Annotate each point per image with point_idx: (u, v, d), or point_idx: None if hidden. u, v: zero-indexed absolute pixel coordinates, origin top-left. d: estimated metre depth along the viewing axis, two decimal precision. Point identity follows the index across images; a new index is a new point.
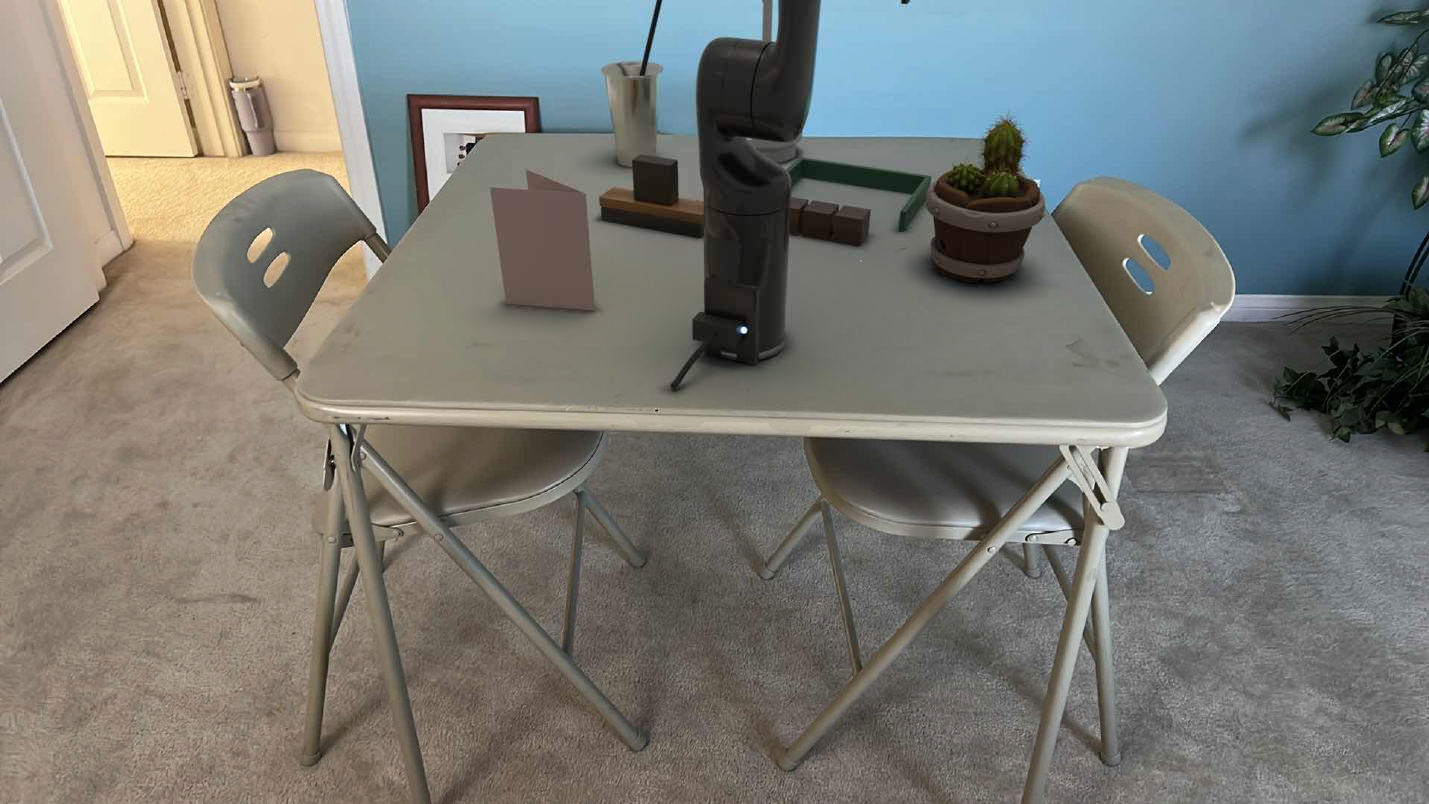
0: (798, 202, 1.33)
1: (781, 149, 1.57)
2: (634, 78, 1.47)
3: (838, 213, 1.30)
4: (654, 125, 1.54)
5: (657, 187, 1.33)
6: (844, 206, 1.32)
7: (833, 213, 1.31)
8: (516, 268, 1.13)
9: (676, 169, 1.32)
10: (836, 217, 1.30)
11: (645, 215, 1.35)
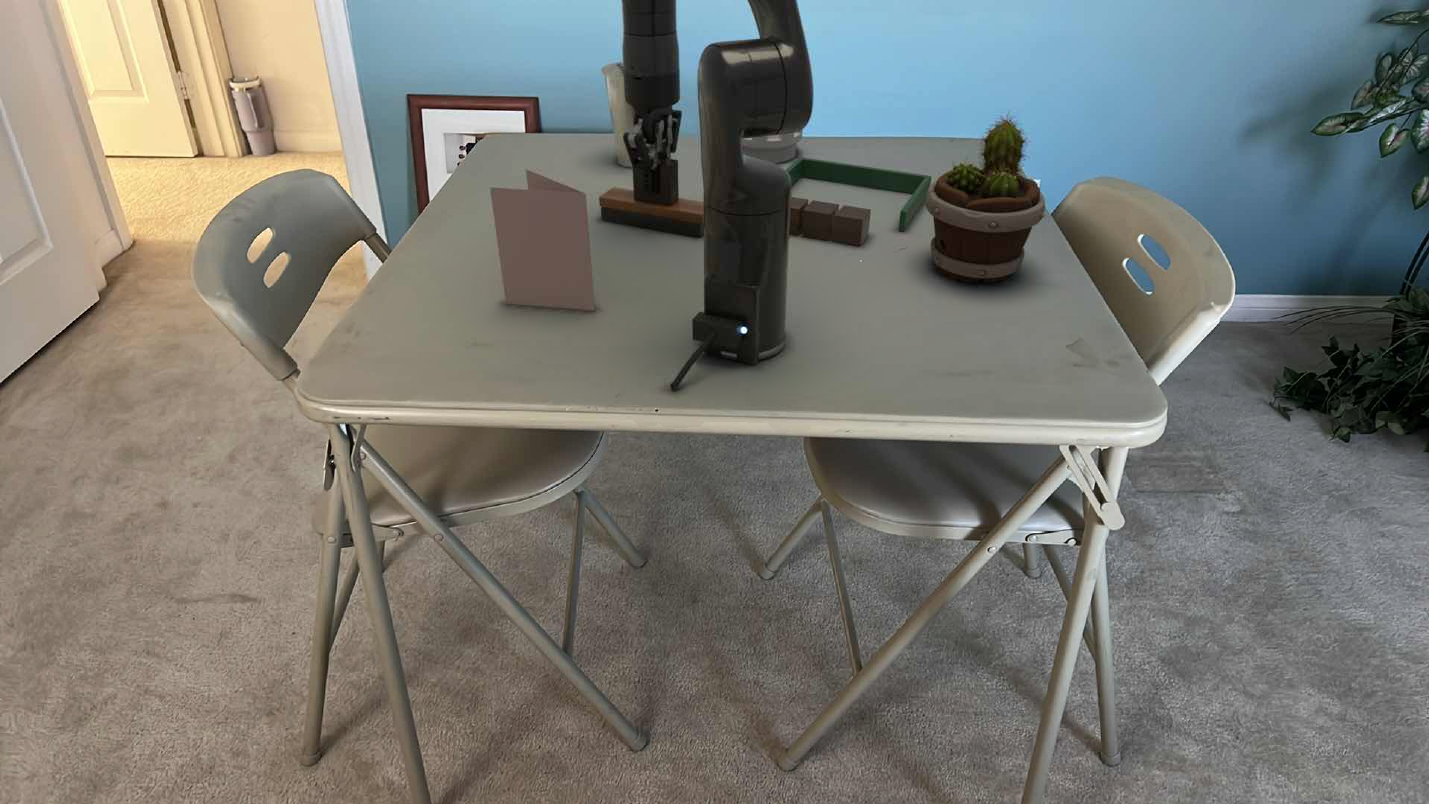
0: (798, 202, 1.33)
1: (781, 149, 1.57)
2: None
3: (838, 213, 1.30)
4: None
5: None
6: (844, 206, 1.32)
7: (833, 213, 1.31)
8: (516, 268, 1.13)
9: (676, 169, 1.32)
10: (836, 217, 1.30)
11: (645, 215, 1.35)
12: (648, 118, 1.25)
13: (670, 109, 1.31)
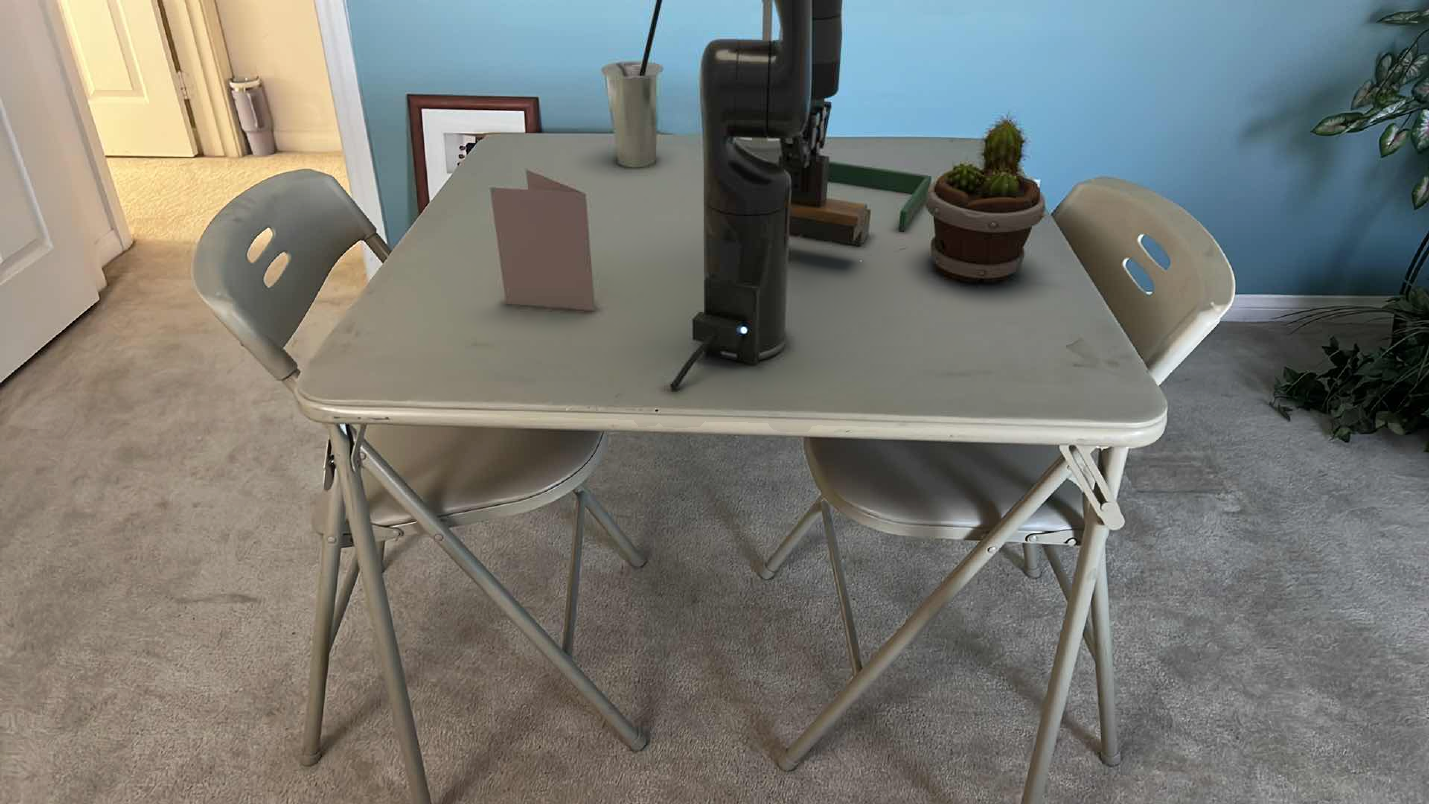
0: None
1: None
2: (634, 78, 1.47)
3: None
4: (654, 125, 1.54)
5: None
6: None
7: None
8: (516, 268, 1.13)
9: (827, 166, 1.20)
10: None
11: (790, 217, 1.23)
12: None
13: (823, 100, 1.19)
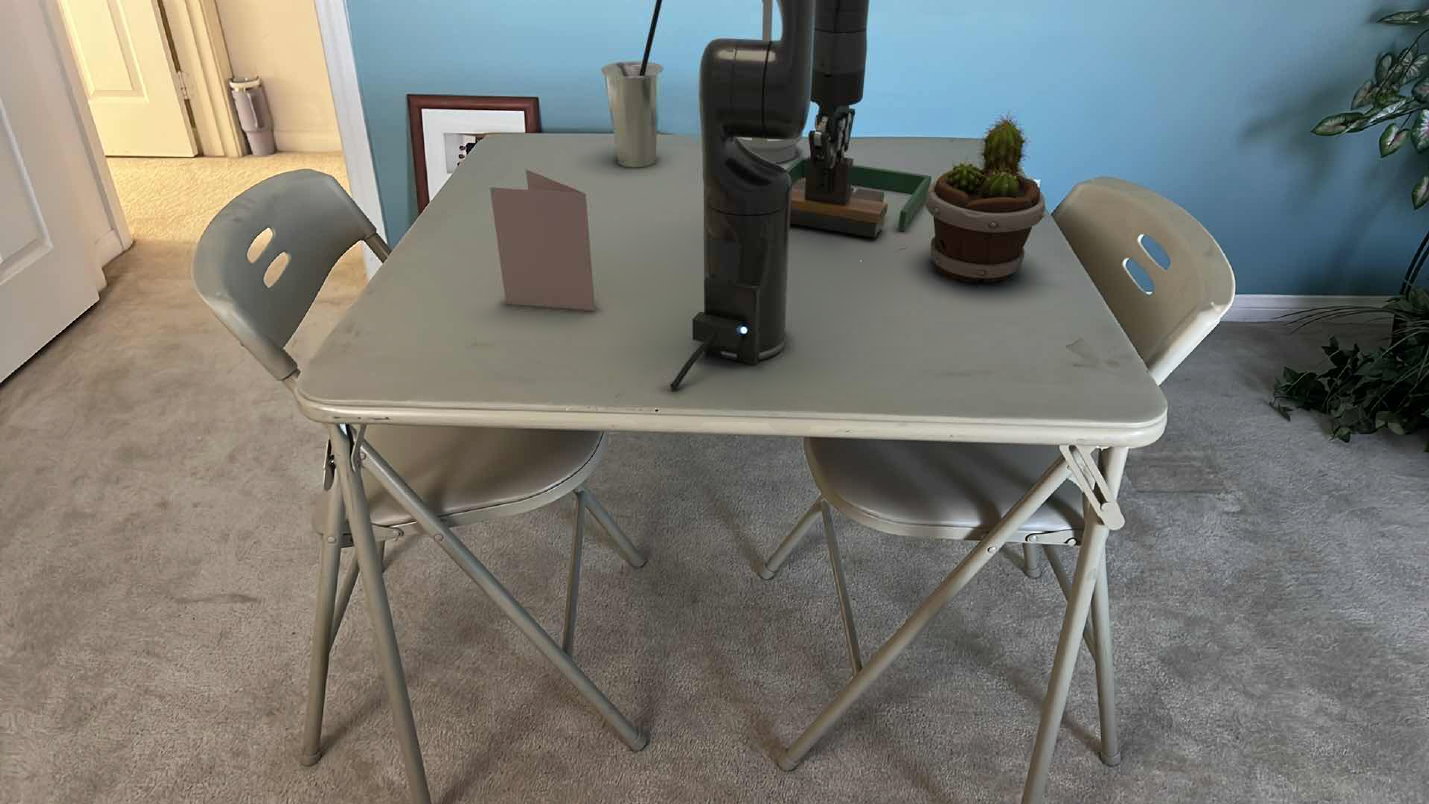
0: None
1: (781, 149, 1.57)
2: (634, 78, 1.47)
3: (853, 196, 1.35)
4: (654, 125, 1.54)
5: None
6: (858, 189, 1.37)
7: None
8: (516, 268, 1.13)
9: (851, 168, 1.31)
10: None
11: (817, 214, 1.33)
12: (833, 116, 1.24)
13: (848, 107, 1.29)
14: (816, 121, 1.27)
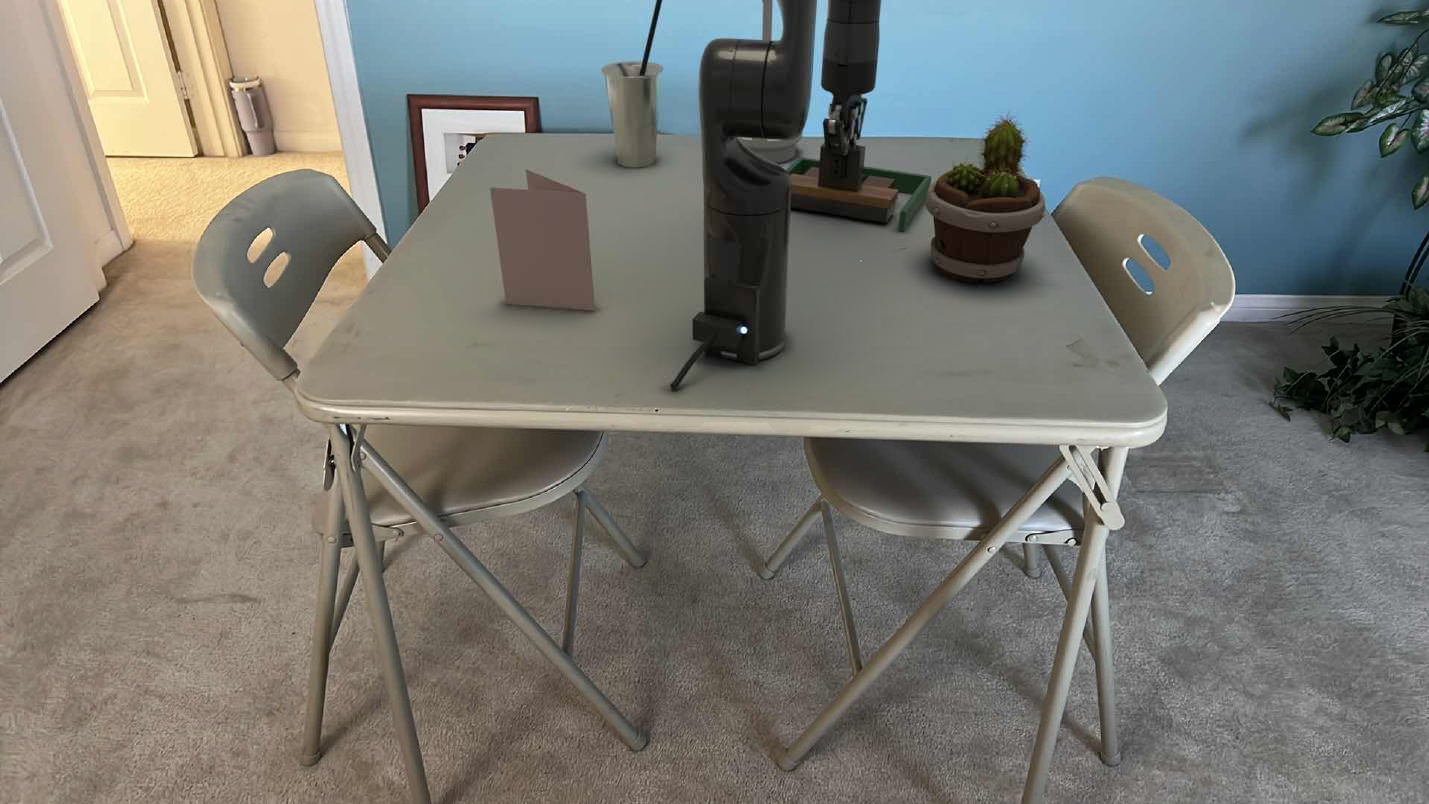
0: None
1: (781, 149, 1.57)
2: (634, 78, 1.47)
3: (865, 182, 1.40)
4: (654, 125, 1.54)
5: None
6: (870, 176, 1.42)
7: None
8: (516, 268, 1.13)
9: (864, 155, 1.35)
10: None
11: (830, 200, 1.38)
12: (846, 104, 1.28)
13: (860, 96, 1.34)
14: (830, 110, 1.31)
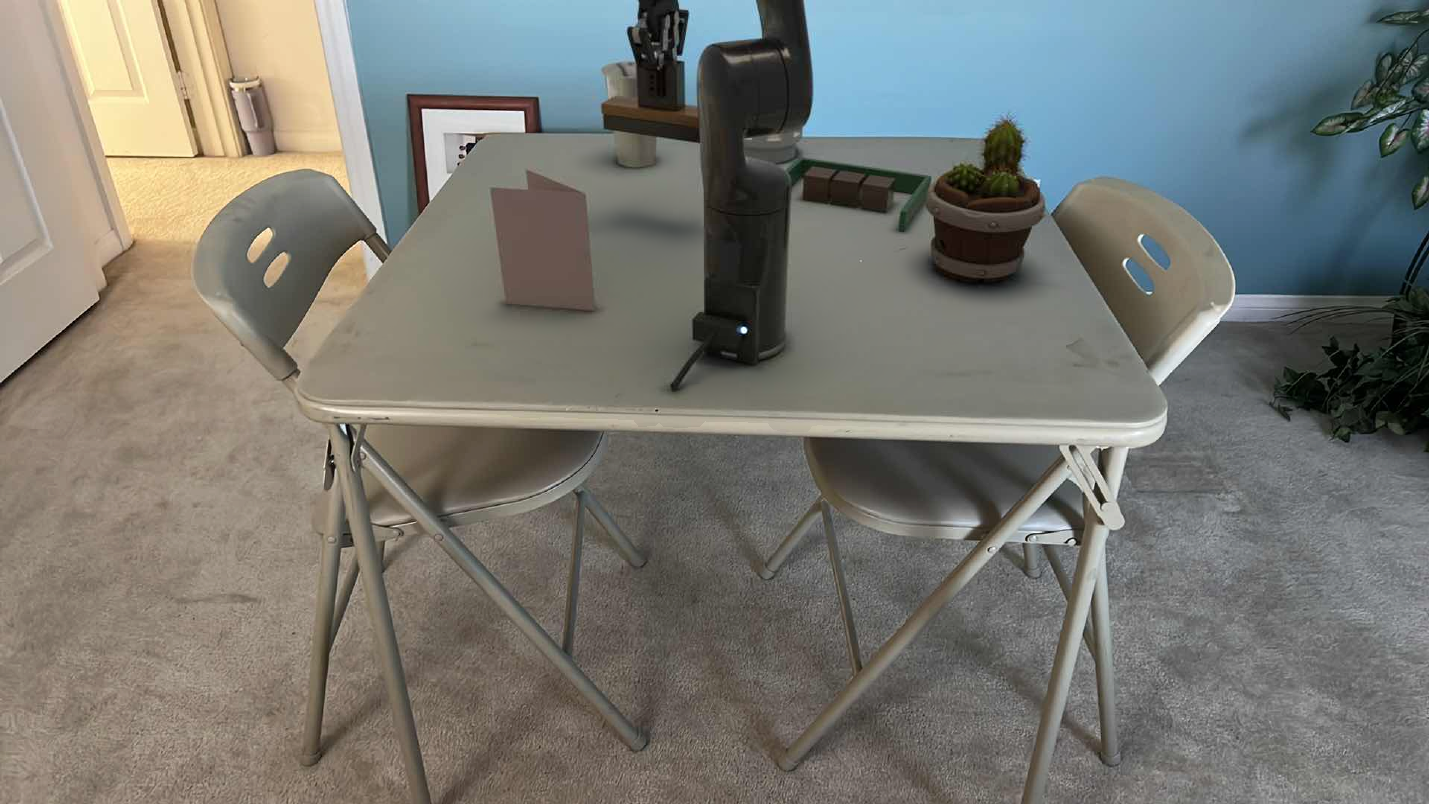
0: (827, 172, 1.43)
1: (781, 149, 1.57)
2: (634, 78, 1.47)
3: (865, 182, 1.40)
4: None
5: None
6: (871, 176, 1.42)
7: (860, 182, 1.41)
8: (516, 268, 1.13)
9: (683, 71, 1.25)
10: (864, 185, 1.40)
11: (650, 121, 1.27)
12: (653, 11, 1.18)
13: (677, 6, 1.23)
14: None
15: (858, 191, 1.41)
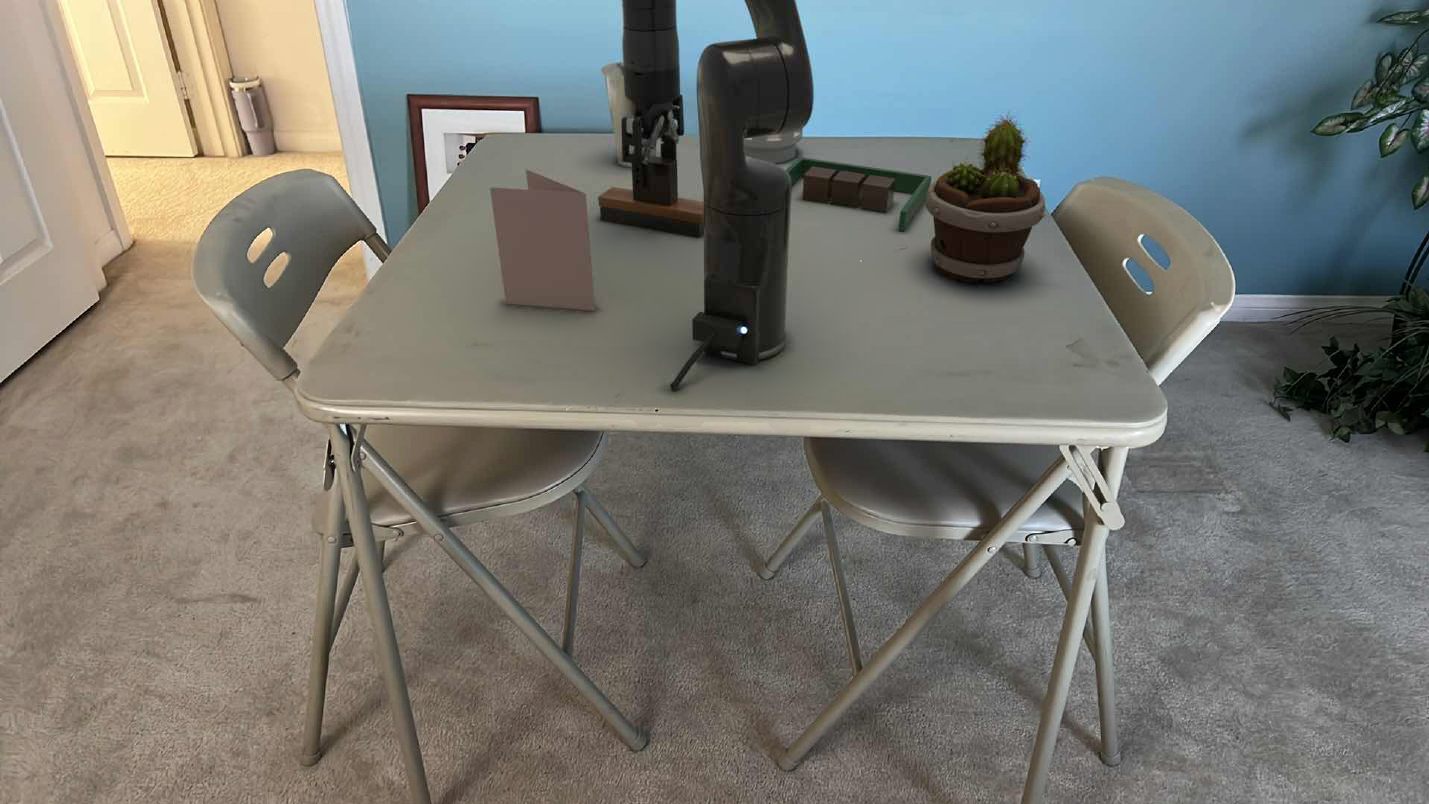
0: (827, 172, 1.43)
1: (781, 149, 1.57)
2: None
3: (865, 182, 1.40)
4: None
5: (657, 186, 1.33)
6: (870, 176, 1.42)
7: (860, 182, 1.41)
8: (516, 268, 1.13)
9: (675, 168, 1.32)
10: (864, 185, 1.40)
11: (644, 214, 1.35)
12: (649, 112, 1.25)
13: (670, 105, 1.30)
14: None
15: (858, 191, 1.41)
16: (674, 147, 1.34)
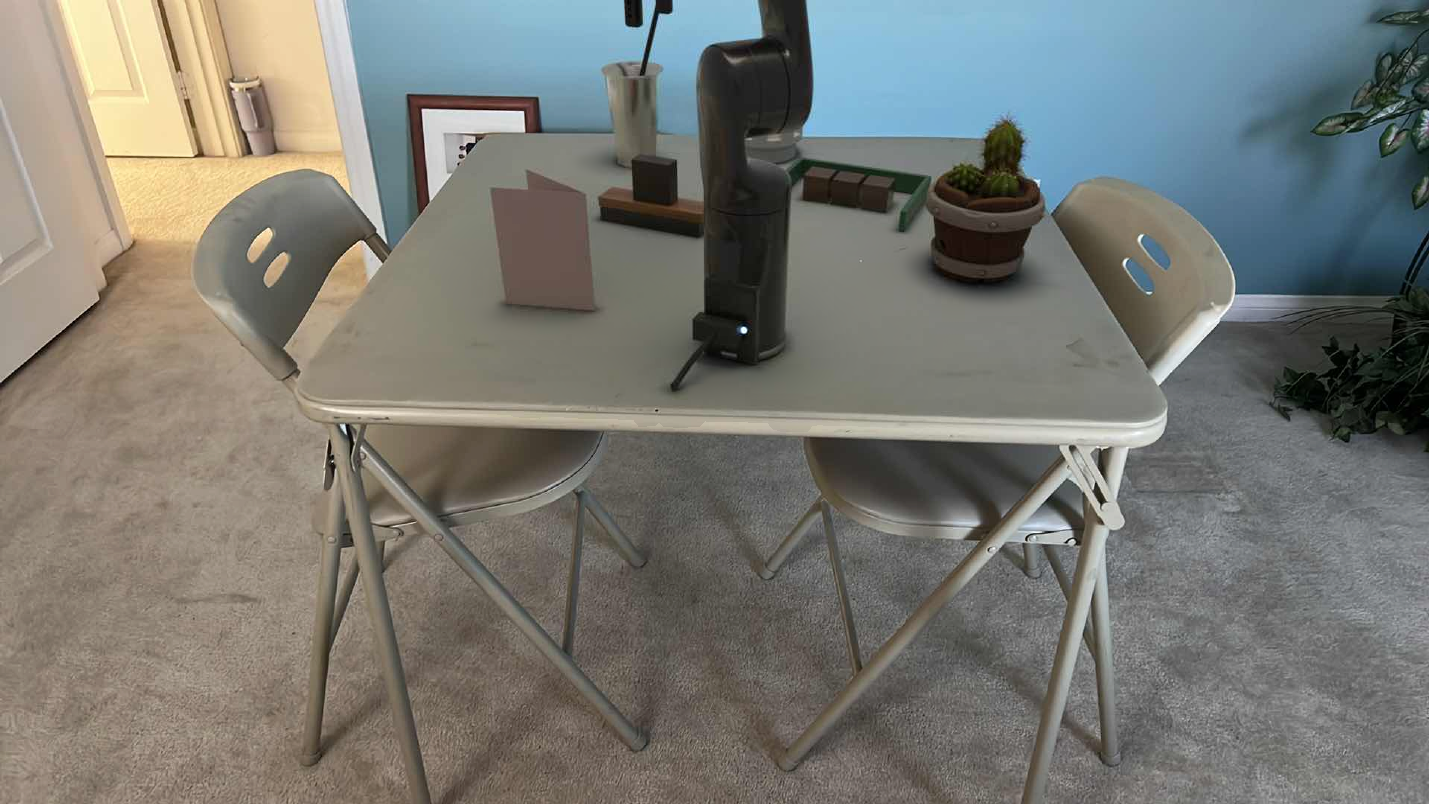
0: (827, 172, 1.43)
1: (781, 149, 1.57)
2: (634, 78, 1.47)
3: (865, 182, 1.40)
4: (654, 125, 1.54)
5: (657, 186, 1.33)
6: (871, 176, 1.42)
7: (860, 182, 1.41)
8: (516, 268, 1.13)
9: (675, 168, 1.32)
10: (864, 185, 1.40)
11: (644, 214, 1.35)
12: None
13: None
14: None
15: (858, 191, 1.41)
16: None
